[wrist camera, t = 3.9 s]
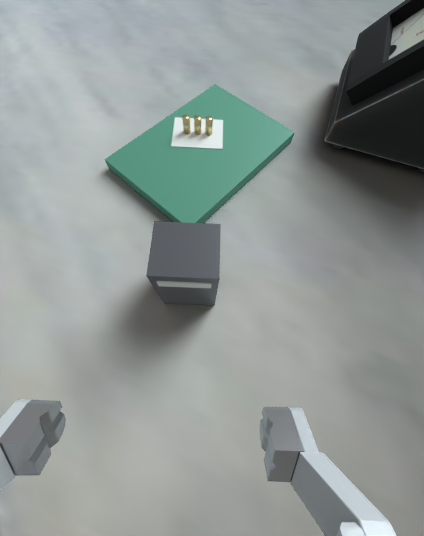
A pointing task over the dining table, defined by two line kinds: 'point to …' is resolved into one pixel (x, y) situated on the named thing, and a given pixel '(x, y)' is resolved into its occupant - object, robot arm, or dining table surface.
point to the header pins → (197, 124)
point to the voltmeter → (384, 90)
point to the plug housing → (185, 262)
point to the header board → (200, 156)
